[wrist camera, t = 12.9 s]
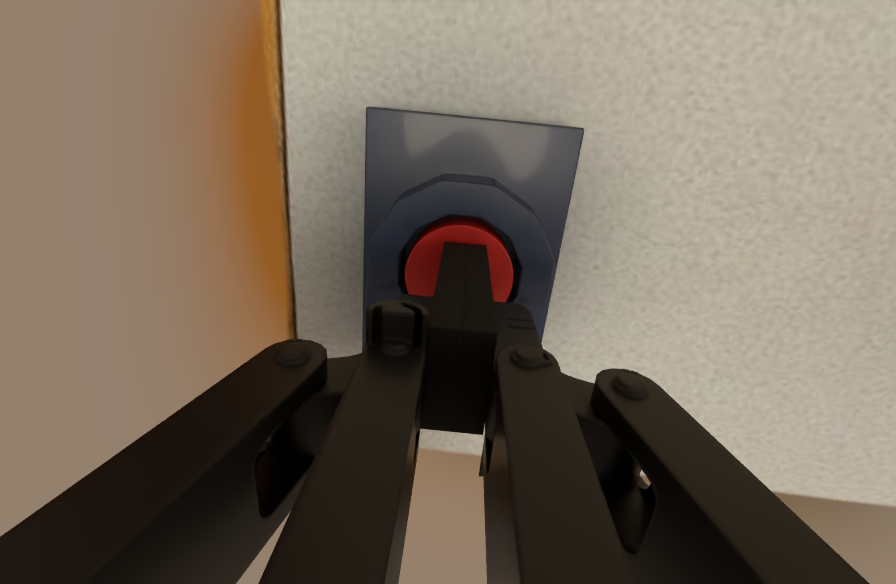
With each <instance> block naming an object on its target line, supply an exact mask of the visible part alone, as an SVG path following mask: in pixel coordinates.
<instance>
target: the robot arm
mask: <svg viewBox="0 0 896 584" xmlns="http://www.w3.org/2000/svg"><path fill="white" fill-rule="evenodd" d="M484 424H485V438H484V444H483V451H482V458H481V464H480V471H479V476H483V477H484V505H485V534H486V535H485V536H486V564H487V584H869V583H868V582H867V581H866V580H865V579H864V578H863V577H862V576H861V575H860V574H859V573H858V572H856V571H855V570H854V569H853V568H852V567H851V566H850V565H849V564H848V563H847V562H846V561H845V560H844V559H843V558H842V557H840V555H838V554H837V553H836V552H835V551H834V550H833V549H832V548H831V547H830V546H829V545H828V544H827V543H825V541H824V540H822V539H821V538H820V537H819V536H818V535H817V534H816V533H815V532H814V531H813V530H812V529H810V527H809V526H808V525H807V524H805V523H804V522H803V521H802V520H801V519H800V518H799V517H798V516H797V515H796V514H795V513H794V512H793V511H792V510H791V509H790V508H788V507H787V506H786V505H785V504H784V503H783V502H782V501H781V500H780V499H779V498H778V497H777V496H776V495H775V494H774V493H773V492H771V491H770V490H769V489H768V488H767V487H766V486H765V485H764V484H763V483H762V482H761V481H760V480H759V479H758V478H757V477H756V476H754V475H753V474H752V473H751V472H750V471H749V470H748V469H747V468H746V467H745V466H744V465H743V464H742V463H741V462H740V461H739V460H737V459H736V458H735V457H734V456H733V455H732V454H731V453H730V452H729V451H728V450H727V449H726V448H725V447H724V446H723V445H721V444H720V443H719V442H718V441H717V440H716V439H715V438H714V437H713V436H712V435H711V434H710V433H709V432H708V431H707V430H706V429H704V428H703V427H702V426H701V425H700V424H699V423H698V422H697V421H696V420H695V419H694V418H693V417H692V416H691V415H690V414H689V413H687V412H686V411H685V410H684V409H683V408H682V407H681V406H680V405H679V404H678V403H677V402H676V401H675V400H674V399H673V398H672V397H670V396H669V395H668V394H667V393H666V392H665V391H664V390H663V389H662V388H661V387H660V386H659V385H657V384H656V383H655V382H653V381H652V380H650V379H649V378H647V377H645V376H643V375H641V374H639V373H637V372H634V371H630V370H626V369H607V370H602V371H601V372H600V373H598V374H597V376H596V380H595V384H594V383H590V382H587V381H583V380H580V379H576V378H573V377H571V376H568V375H566V374H564V373H562V372H561V370H560V367H559V364H558V362H557V360H556V359H555V357H554V356H553V355H552V354H550V353H549V352H547V351H546V350H544V349H543V348H542V345H541V342H540V338H539V335H538V332H537V330H536V326H535V323H534V319H533V316H532V313H531V311H529V310H528V309H527V308H526V307H525V306H524V305H523V304H517V303H507V302H497V301H494V299H493V292H492V284H491V276H490V268H489V260H488V252H487V245H477V244H467V243H456V242H446V241H444V246H443V251H442V256H441V262H440V267H439V272H438V277H437V282H436V287H435V292H434V297H432V296H422V295H411V294H401V295H400V296H398V297H397V298H395V299H393V300H384V301H379V302H376V303H374V304H371V305H370V306H369V307H368V308H367V309H366V344H365V346H364V348H363V351H362V353H360V354H357V355H353V356H348V357H340V358H328V359H327V351H326V349H325V348H324V347H323V346H322V345H321V344H319V343H316V342H314V341H310V340H303V339H295V340H294V339H290V340H286V341H283V342H279V343H276V344H273V345H271V346H269V347H267V348H265V349H264V350H263V351H261V352H260V353H259V354H257V355H256V356H254V357H253V358H251V359H250V360H249V361H247V362H246V363H244V364H243V365H242V366H240V367H239V368H237V369H236V370H234V371H233V372H232V373H230V374H229V375H227V376H226V377H225V378H223V379H222V380H220V381H219V382H218V383H216V384H215V385H213V386H212V387H211V388H209V389H208V390H206V391H205V392H204V393H202V394H201V395H199V396H198V397H196V398H195V399H194V400H193V401H191V402H189V403H188V404H187V405H185V406H184V407H182V408H181V409H180V410H178V411H177V412H175V413H174V414H173V415H171V416H170V417H168V418H167V419H166V420H165V421H163V422H161V423H160V424H158V425H157V426H156V427H154V428H153V429H152V430H150V431H149V432H147V433H146V434H144V435H143V436H142V437H140V438H139V439H137V440H136V441H135V442H133V443H132V444H130V445H129V446H127V447H126V448H125V449H123V450H122V451H121V452H119V453H118V454H116V455H115V456H113V457H112V458H111V459H109V460H108V461H106V462H105V463H104V464H102V465H101V466H99V467H98V468H97V469H95V470H94V471H92V472H91V473H90V474H88V475H87V476H85V477H84V478H82V479H81V480H80V481H78V482H77V483H75V484H74V485H73V486H71V487H70V488H68V489H67V490H66V491H64V492H63V493H62V494H60V495H59V496H57V497H56V498H54V499H53V500H52V501H50V502H49V503H47V504H46V505H45V506H43V507H42V508H40V509H39V510H37V511H36V512H35V513H33V514H32V515H30V516H29V517H28V518H26V519H25V520H23V521H22V522H21V523H19V524H18V525H16V526H15V527H14V528H12V529H11V530H9V531H8V532H6V533H5V534H4V535H2V536H1V537H0V584H236V583H237V582H238V580H239V579H240V578H241V576H242V575H243V573H244V572H245V571H246V570H247V568H248V567H249V565H250V564H251V563H252V562H253V560H254V559H255V558H256V556H257V555H258V554H259V552H260V551H261V550H262V548H263V547H264V545H265V544H266V543H267V542H268V540H269V539H270V538H271V536H272V535H273V534H274V532H275V531H276V529H277V528H278V527H279V526H280V524H281V523H282V521H283V520H284V519H285V518H286V516H287V515H288V514H289V512H290V511H291V512H290V514H289V517H288V519H287V521H286V523H285V526H284V528H283V530H282V532H281V534H280V537H279V539H278V541H277V543H276V546H275V548H274V550H273V552H272V555H271V557H270V559H269V561H268V564H267V566H266V568H265V570H264V572H263V575H262V577H261V579H260V582H259V584H398V582H399V574H400V568H401V562H402V555H403V548H404V541H405V535H406V527H407V521H408V515H409V507H410V501H411V495H412V488H413V481H414V475H415V468H416V461H417V455H418V448H419V438H420V429H430V430H440V431H450V432H460V433H470V434H480V435H483V431H484ZM641 470H642V471H643V472H644V473H645V475H646V476H647V478H648V479H649V481H650V483H651V484H650V486H648V485H647V484H646V483H645V482H644V481H643V479H642V478H641V477H640V472H641Z"/></svg>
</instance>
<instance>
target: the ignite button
mask: <svg viewBox="0 0 896 584" xmlns="http://www.w3.org/2000/svg"><path fill="white" fill-rule="evenodd" d="M444 241H446V242H456V243H467V244H477V245H487V252H488V260H489V268H490V276H491V284H492V292H493V299H494V301H497V302H506V300H507V299H508V297H509V294H510V292H511V289H512V285H513V267H512V263H511V259H510V256H509V252H508V249H507V246H506V244H505V242H504V240H503V238H502V236H501V235H500V234H499V232H498V231H497V230H496V229H495V228H494V227H493V226H491V225H490V224H489V223H487V222H486V221H484V220H482V219H479V218H477V217H469V216H459V215H450V216H446V217H443V218H440V219H438V220H436V221H434V222H432V223H431V224H429V225H428V226H427V227H426V228H425V229H424V230H423V231H422V232H421V233H420V234H419V236H418V237H417V239H416V241H415V243H414V245H413V248H412V250H411V252H410V255H409V257H408V260H407V263H406V268H405V282H406V287H407V290H408V293H409V294H411V295H422V296H432V297H434V292H435V287H436V282H437V277H438V272H439V267H440V262H441V256H442V251H443V246H444Z"/></svg>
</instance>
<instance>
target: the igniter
mask: <svg viewBox="0 0 896 584" xmlns="http://www.w3.org/2000/svg"><path fill="white" fill-rule="evenodd" d="M583 134H584V129H583V128H577V127H569V126H559V125H549V124H539V123H529V122H519V121H509V120H499V119H489V118H479V117H469V116H459V115H449V114H439V113H429V112H419V111H409V110H399V109H389V108H379V107H367V108H366V152H365V213H364V273H363V333H362V351H363V348H364V346H365V344H366V309H367V308H368V307H369V306H370V305H371V304H374V303H376V302H379V301H384V300H393V299H395V298H397V297H398V296H400V295H401V294H409V293H408V290H407V287H406V282H405V268H406V263H407V260H408V257H409V255H410V252H411V250H412V248H413V245H414V243H415V241H416V239H417V237H418V236H419V234H420V233H421V232H422V231H423V230H424V229H425V228H426V227H427V226H428V225H429V224H431V223H432V222H434V221H436V220H438V219H440V218H443V217H446V216H450V215H459V216H469V217H477V218H479V219H482V220H484V221H486V222H487V223H489V224H490V225H491V226H493V227H494V228H495V229H496V230H497V231H498V232H499V234H500V235H501V236H502V238H503V240H504V242H505V244H506V246H507V249H508V252H509V256H510V259H511V263H512V267H513V285H512V289H511V292H510V294H509V297H508V299H507V300H506V302H507V303H517V304H523V305H524V306H525V307H526V308H527V309H528V310H529V311H531V313H532V316H533V319H534V323H535V326H536V330H537V332H538V335H539V338H540V342H542V337H543V332H544V327H545V322H546V317H547V312H548V307H549V303H550V298H551V293H552V288H553V283H554V278H555V273H556V268H557V263H558V258H559V253H560V248H561V243H562V238H563V233H564V228H565V223H566V218H567V213H568V208H569V204H570V199H571V194H572V189H573V184H574V179H575V174H576V169H577V164H578V159H579V154H580V149H581V144H582V139H583Z"/></svg>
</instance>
